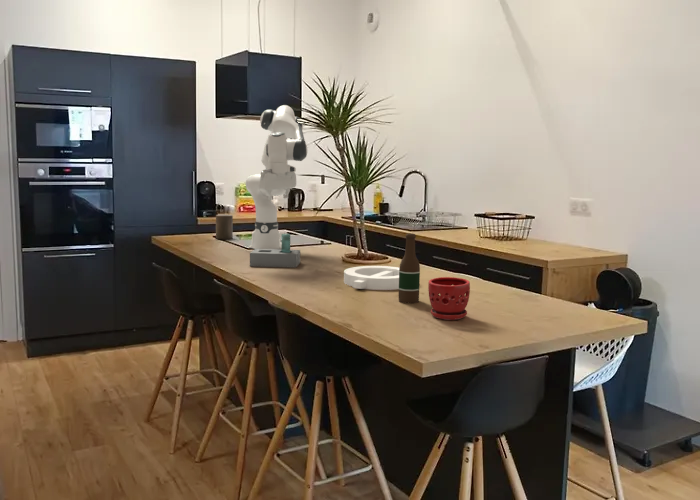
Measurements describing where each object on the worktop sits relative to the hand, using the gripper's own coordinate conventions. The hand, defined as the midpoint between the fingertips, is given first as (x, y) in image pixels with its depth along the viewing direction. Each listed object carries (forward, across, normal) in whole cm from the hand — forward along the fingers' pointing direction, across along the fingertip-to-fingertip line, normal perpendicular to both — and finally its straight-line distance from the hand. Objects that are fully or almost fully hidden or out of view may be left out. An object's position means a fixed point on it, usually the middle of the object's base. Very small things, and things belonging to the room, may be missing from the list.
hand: (278, 199), depth 306 cm
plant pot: (+28, -33, -111) cm, 120 cm away
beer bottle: (+28, -24, -89) cm, 97 cm away
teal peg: (+30, -2, -6) cm, 30 cm away
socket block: (+30, -5, -2) cm, 30 cm away
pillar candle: (+32, +35, +82) cm, 95 cm away
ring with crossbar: (+30, -4, -61) cm, 68 cm away
